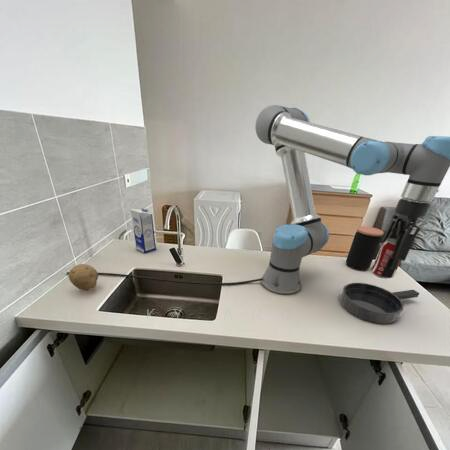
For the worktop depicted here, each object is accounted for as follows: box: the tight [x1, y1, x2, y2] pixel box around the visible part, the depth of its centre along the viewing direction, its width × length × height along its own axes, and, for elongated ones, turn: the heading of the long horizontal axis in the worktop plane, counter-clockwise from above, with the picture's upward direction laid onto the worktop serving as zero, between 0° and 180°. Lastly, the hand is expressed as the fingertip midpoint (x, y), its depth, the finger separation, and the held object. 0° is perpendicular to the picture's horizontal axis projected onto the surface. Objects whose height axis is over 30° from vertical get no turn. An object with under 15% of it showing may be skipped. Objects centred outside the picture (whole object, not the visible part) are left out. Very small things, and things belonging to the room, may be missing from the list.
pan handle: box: [387, 289, 420, 301], centre depth 90 cm, size 12×3×2 cm, turn 106°
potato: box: [68, 263, 99, 292], centre depth 86 cm, size 9×9×10 cm
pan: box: [339, 282, 405, 325], centre depth 87 cm, size 19×19×4 cm
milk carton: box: [130, 208, 157, 254], centre depth 116 cm, size 7×7×20 cm
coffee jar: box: [345, 225, 385, 272], centre depth 112 cm, size 11×11×18 cm
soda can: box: [370, 238, 402, 280], centre depth 78 cm, size 7×7×12 cm
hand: (382, 271), depth 81 cm, fingers closed on soda can, 7 cm apart
